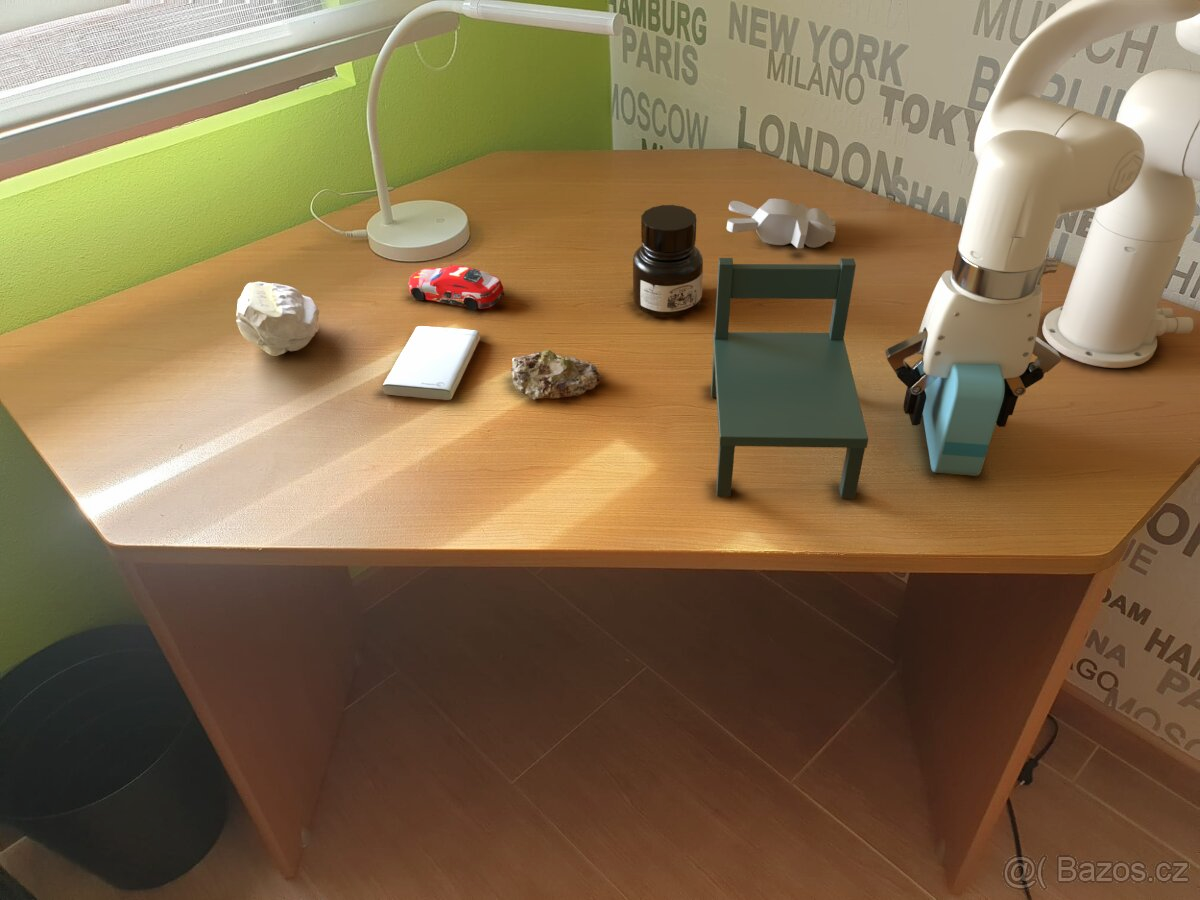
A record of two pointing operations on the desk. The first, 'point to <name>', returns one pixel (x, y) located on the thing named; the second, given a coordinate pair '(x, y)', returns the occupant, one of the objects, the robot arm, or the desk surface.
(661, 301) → the ink bottle
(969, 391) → the light blue rounded block
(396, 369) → the hard drive
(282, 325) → the white rounded lump
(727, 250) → the desk surface
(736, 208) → the bunny figurine
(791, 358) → the chair
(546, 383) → the mineral rock
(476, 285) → the race car
